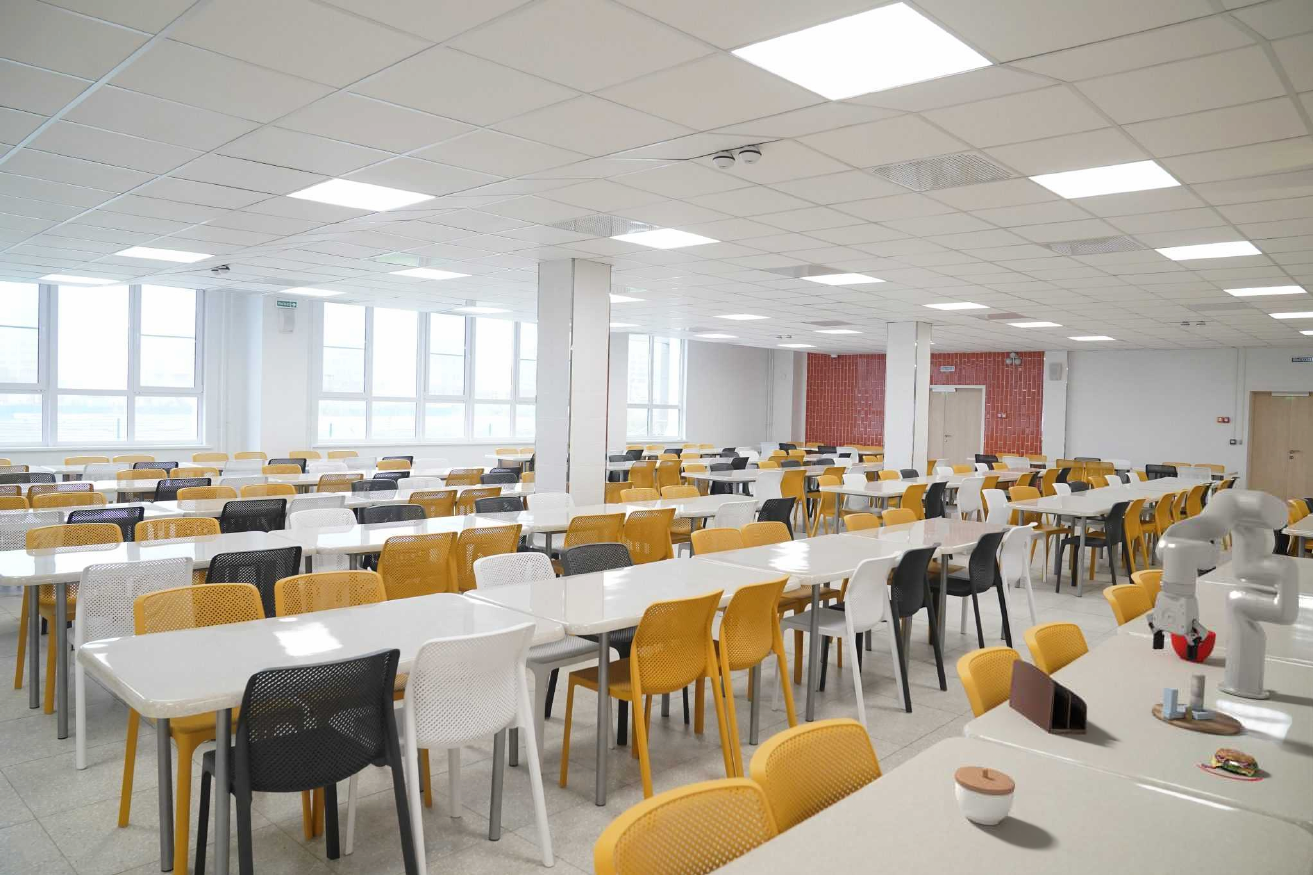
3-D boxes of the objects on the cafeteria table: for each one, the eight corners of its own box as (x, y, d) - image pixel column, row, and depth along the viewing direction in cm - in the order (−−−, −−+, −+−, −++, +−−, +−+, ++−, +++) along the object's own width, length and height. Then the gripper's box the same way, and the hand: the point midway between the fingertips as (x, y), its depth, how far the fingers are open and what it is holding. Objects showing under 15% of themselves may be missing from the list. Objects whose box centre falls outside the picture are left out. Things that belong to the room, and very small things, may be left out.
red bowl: (1213, 656, 291) (1215, 628, 291) (1214, 667, 277) (1216, 637, 277) (1169, 649, 298) (1171, 621, 298) (1168, 660, 284) (1170, 630, 284)
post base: (1169, 702, 237) (1172, 659, 237) (1253, 725, 222) (1256, 679, 221) (1139, 715, 225) (1142, 670, 225) (1225, 740, 209) (1228, 691, 209)
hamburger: (1199, 752, 202) (1201, 727, 202) (1270, 771, 192) (1272, 745, 192) (1183, 767, 192) (1185, 741, 192) (1258, 788, 182) (1259, 760, 182)
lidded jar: (943, 804, 166) (945, 757, 166) (995, 804, 167) (998, 757, 166) (968, 831, 155) (970, 780, 155) (1023, 831, 156) (1026, 781, 156)
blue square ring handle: (1194, 710, 227) (1196, 682, 227) (1215, 718, 221) (1216, 689, 221) (1155, 712, 223) (1156, 684, 223) (1174, 721, 217) (1176, 692, 217)
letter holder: (1048, 734, 208) (1052, 677, 208) (1008, 706, 228) (1011, 654, 228) (1086, 734, 209) (1090, 678, 209) (1043, 707, 229) (1046, 655, 228)
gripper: (1139, 582, 227) (1135, 645, 227) (1198, 596, 210) (1193, 664, 211) (1160, 582, 229) (1156, 644, 229) (1220, 596, 213) (1216, 663, 213)
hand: (1174, 654), depth 220 cm, fingers open, 9 cm apart
